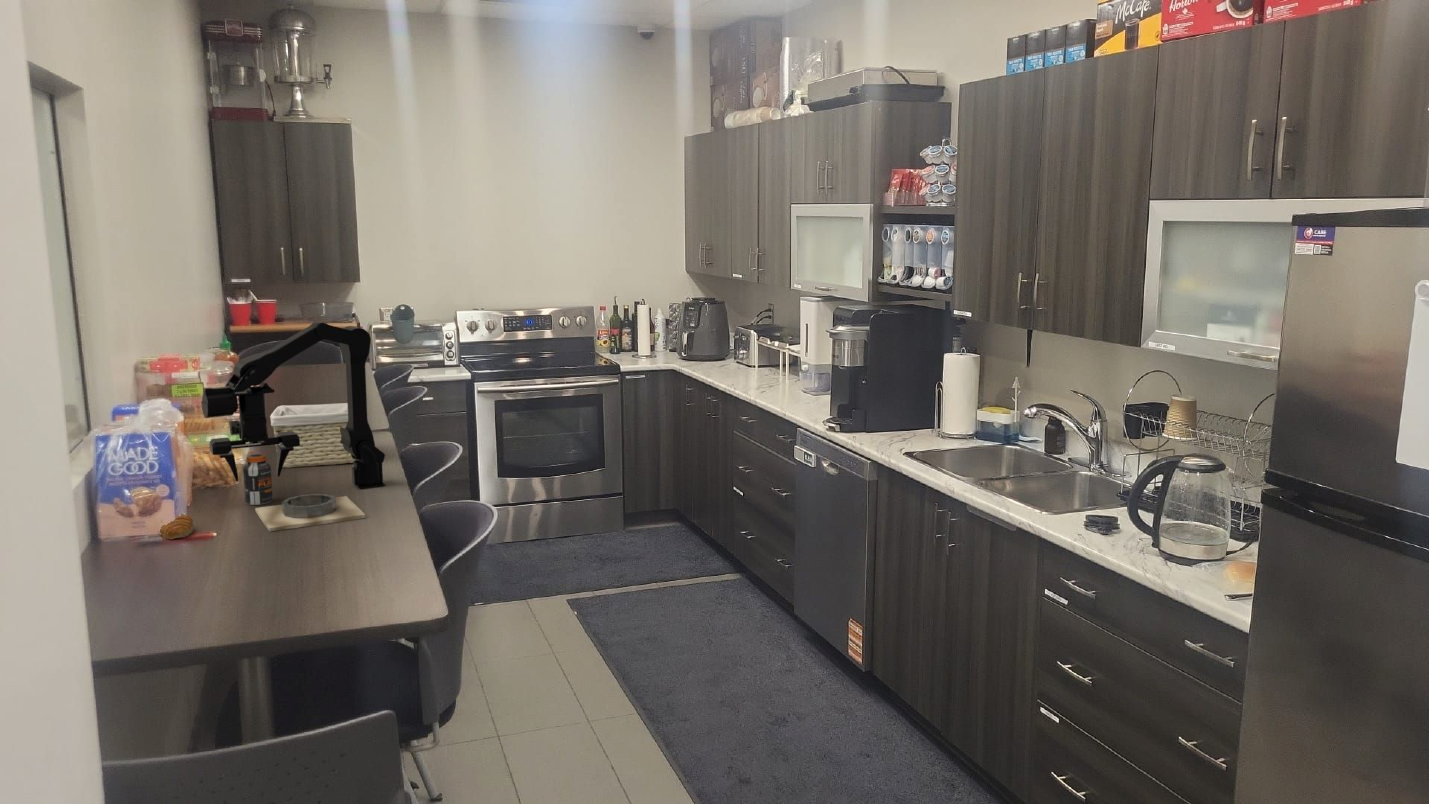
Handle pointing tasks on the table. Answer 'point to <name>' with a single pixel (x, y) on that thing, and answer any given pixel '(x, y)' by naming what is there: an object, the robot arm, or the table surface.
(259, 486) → the pill bottle
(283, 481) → the table surface
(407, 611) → the table surface
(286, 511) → the ring holder
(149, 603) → the table surface
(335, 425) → the storage basket
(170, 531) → the pastry
